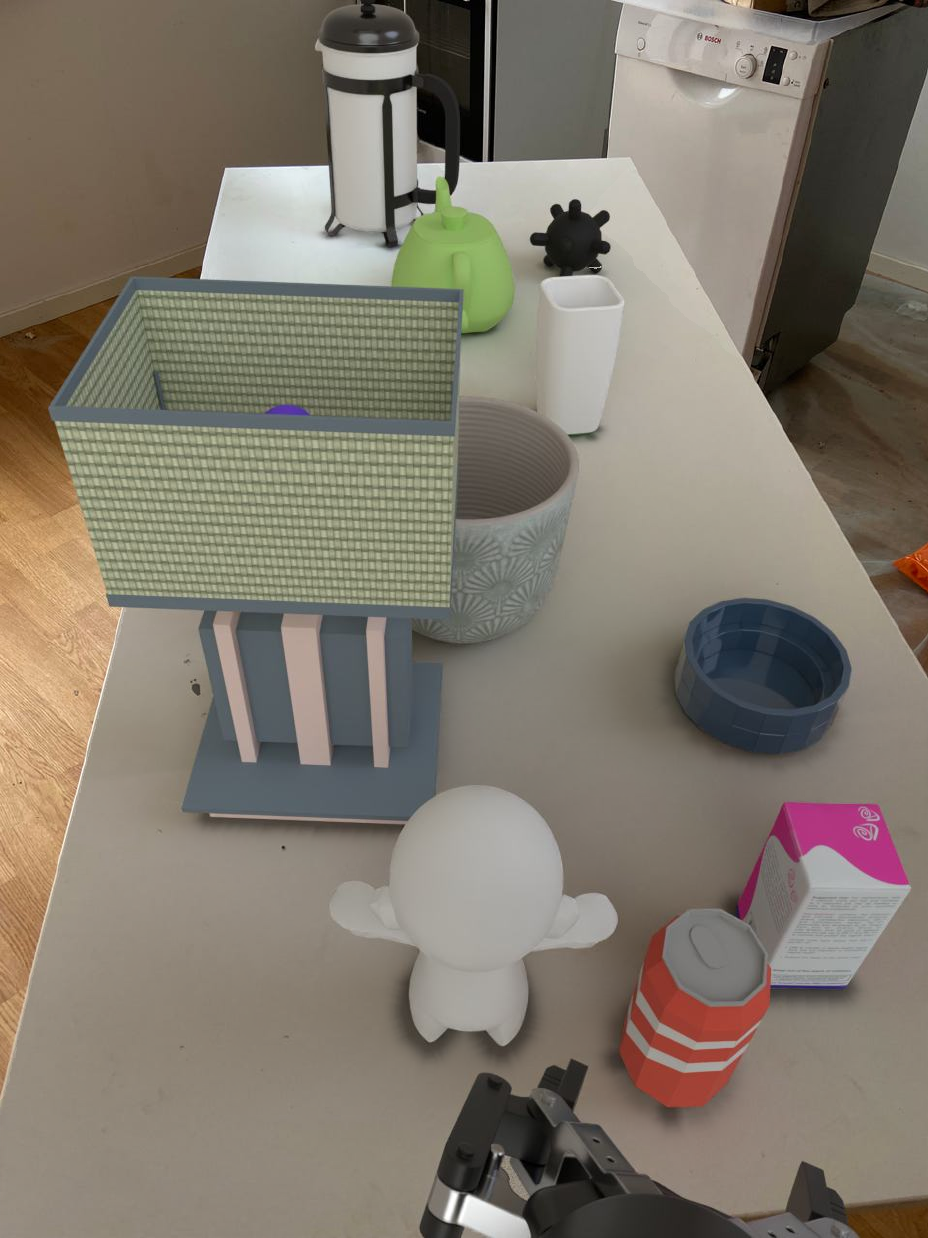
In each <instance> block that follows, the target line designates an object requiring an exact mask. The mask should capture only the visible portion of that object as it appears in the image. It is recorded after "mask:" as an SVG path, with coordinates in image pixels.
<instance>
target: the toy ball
mask: <svg viewBox="0 0 928 1238" xmlns="http://www.w3.org/2000/svg"><path fill="white" fill-rule="evenodd" d="M549 211H550V215H551V216H552V218H553V220H552V221H551V222H550V223H549V225H548V226H547V228H546V232H539V231H538V232H537V231H535V232H533V233H532V234H530V236H529V242H530V244H531V245H532V246H533V247H535V246H536V247H544V251H545V253H546V255H545V256H544V257H543V264H544V265H545V266H546V267H548V268H549V267H553V266H555V267H556V268H557V269H560V270H559V271H560V272H559V276H558V277H564V276H573V273H574V272H580V271H583V270H584V269H586V268H587V269H588V270H589V271H590V272H591V273H593V274H594V275H598V274H599V273H600V272H601V271H602V268H603V264H602V263H601V261H599V259H598V256H599V254H600V255H604V256H605V255H607V254H609V253H610V251H611V243H609V242H608V241H607V240H602V238H603V235H602V230H601V228H602V227H603V226H604V225H606V224H607V223H608V222H609V221H610V220H611V219H610V218H611V214H610V213H609V211H608V210H606V209H602V210H600V211H599V212H598V213H596V214H595V215H594V216H591V215H590V214H589V213H587V212H585V211H582V202H581V200H579V199H577V198H574V199H571V200H570V201H569V202H568V210H565V211H564V209H563V207H562V205H561V204H560V203H554V204H552V205H551V207H550V208H549ZM600 266H602V267H601V268H597V269H594V268H589V267H600Z"/></svg>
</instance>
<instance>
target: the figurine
mask: <svg viewBox="0 0 928 1238" xmlns="http://www.w3.org/2000/svg"><path fill="white" fill-rule="evenodd" d="M390 859H391V860H390V865H389V877H388V878H389V881H388V883H389V885H383V886H380V887H377V888H374V887H373V885H372V886H371V884H368V883H366V882H363V881H359V880H348V881H343V882H342V883H341V884H340V885H339V886H338V887H337V888H336V890H334V892H333V894H332V895H331V897H330V898H329V902H328V909H329V912H330V916H331V918H332V919H333V920H334V922H335V923H336V924H337V925H338V926H339V927H341V928H344V929H345V930H347V931H348V932H349V933H350V934H351V935H353V936H354V937H363V938H366V939H374V938H377V939H382V940H388V941H391V942H395V943H400V944H404V945H407V946H414V947H416V948H417V949H418V954H417V957H416V959H415V962H414V965H413V968H412V972H411V975H410V978H409V987H408V1000H409V1010H410V1015H411V1019H412V1021H413V1025H414V1026H415V1028H416V1030H417V1032H418V1033H419V1034H420V1035H421V1037H422V1038H423V1039H424V1040H426V1041H427V1043H432V1042H433V1043H434V1042H435V1041H437V1040H438V1039H439V1038H440V1037H441V1036H442V1035H443V1034H444V1033H445V1032H446V1031H447V1030H448V1029H452V1030H455V1031H459V1032H483V1031H486V1033H487V1034H488V1035H489V1036H490V1037H491V1039H492V1040H493V1041H494V1042H495V1043H496V1044H497V1045H498V1046H500V1047H505V1046H507V1045H508V1044H510V1042H511V1041H513V1039H515V1037H516V1036H517V1035H518V1033H519V1032H520V1030H521V1028H522V1025H523V1023H524V1020H525V1017H526V1012H527V1008H528V1003H529V981H528V976H527V971H526V966H525V962H524V958H525V956H527V955H529V953H531V952H540V951H546V950H554V949H563V948H565V949H566V948H569V949H573V950H579V949H591V948H592V947H594V946H595V945H597V944H598V943H599V942H602V941H604V940H608V938H609V937H611V935H613V934H614V933H615V932H616V931H615V930H616V928H617V925H618V923H619V917H618V913H617V910H616V908H615V907H614V905H613V904H612V902H611V901H610V900H609V898H608V897H607V895H604V894H601V893H599V892H588V893H583V894H581V895H578V896H576V897H575V898H573V896H570V895H567V894H563V888H564V868H563V860H562V856H561V852H560V849H559V845H558V843H557V840H556V838H555V835H554V833H553V831H552V830H551V827H549V825H548V823H547V822H546V820H545V819H544V818H543V816H542V815H541V814H540V813H539V812H538V811H537V809H535V808H534V807H533V806H532V805H531V804H530V803H529V802H527V801H526V800H524V799H523V798H521V797H520V796H518V795H516V794H515V793H513V792H511V791H508V790H505V789H503V788H500V787H495V786H490V785H485V784H469V785H463V786H456V787H453V788H450V789H448V790H445V791H443V792H440V793H438V794H436V795H435V797H433V798H432V799H430V800H429V801H427V802H426V803H425V804H424V805H422V806H421V807H420V808H419V809H418V810H417V811H416V812H415V813H414V814H413V815H412V817H411V818H410V819H409V820H408V822H407V823H406V824H404V826H403V827H402V829H401V832H400V833H399V834H398V837H397V839H396V842H395V844H394V847H393V851H392V854H391V858H390Z"/></svg>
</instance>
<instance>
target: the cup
mask: <svg viewBox="0 0 928 1238" xmlns="http://www.w3.org/2000/svg"><path fill="white" fill-rule="evenodd" d="M537 303H538V304H537V315H536V332H535V359H534V360H535V361H534V369H535V371H534V373H535V374H534V375H535V403H536V412H538V413H540V414H542V415H543V416H545V417H547V418H549V419H550V420H551V421H553V422H554V423H556V424H557V425H558V426H559V427H560V428H562V429H563V431H564V432H565V433H566V434H567V435H568V436H569V437H570V436H580V435H587V434H590V433H593V432H595V431H597V430H598V428H599V426H600V423H601V420H602V416H603V412H604V410H605V406H606V402H607V400H608V399H607V398H608V395H609V391H610V387H611V384H612V383H611V382H612V379H613V373H614V369H615V364H616V359H617V354H618V347H619V343H620V336H621V331H622V330H621V329H622V324H623V323H622V322H623V316H624V309H625V303H626V302H625V299H624V297H623V296H622V294H621V293H620V292H619V290H618V289H617V287H616V286H615V284H614V283H613V281H611V280H610V279H609V278H608V277H605V276H604V275H599V274H584V275H583V274H582V275H572V276H564V277H559V276H552V277H547V278H545V279H543V280H542V281H540V283H539V292H538V302H537Z"/></svg>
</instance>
